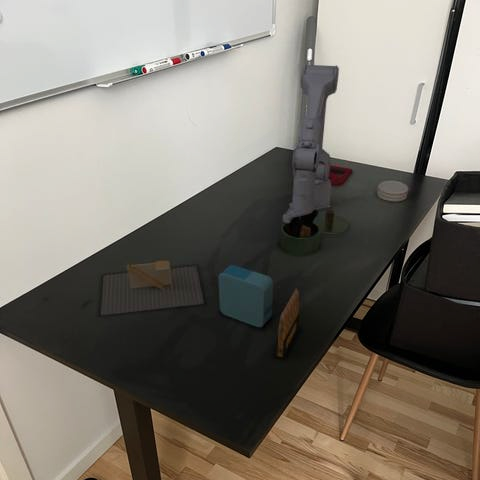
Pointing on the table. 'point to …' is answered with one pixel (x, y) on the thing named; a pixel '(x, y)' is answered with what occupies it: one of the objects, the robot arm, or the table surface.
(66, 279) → the table surface
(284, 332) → the brown wooden panel
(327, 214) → the lid
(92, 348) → the table surface
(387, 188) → the coaster
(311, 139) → the robot arm
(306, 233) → the block
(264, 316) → the data package
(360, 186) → the table surface
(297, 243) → the bowl
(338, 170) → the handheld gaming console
